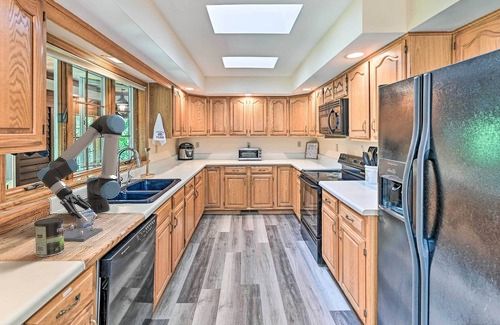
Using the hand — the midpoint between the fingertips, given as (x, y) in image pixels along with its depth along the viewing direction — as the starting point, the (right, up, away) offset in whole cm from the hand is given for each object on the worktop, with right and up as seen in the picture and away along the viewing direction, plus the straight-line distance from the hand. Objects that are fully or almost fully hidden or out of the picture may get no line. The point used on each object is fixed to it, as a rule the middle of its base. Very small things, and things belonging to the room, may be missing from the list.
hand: (90, 219), depth 162 cm
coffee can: (+3, -7, -37) cm, 38 cm away
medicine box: (-3, -4, 0) cm, 5 cm away
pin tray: (+1, -5, -15) cm, 16 cm away
